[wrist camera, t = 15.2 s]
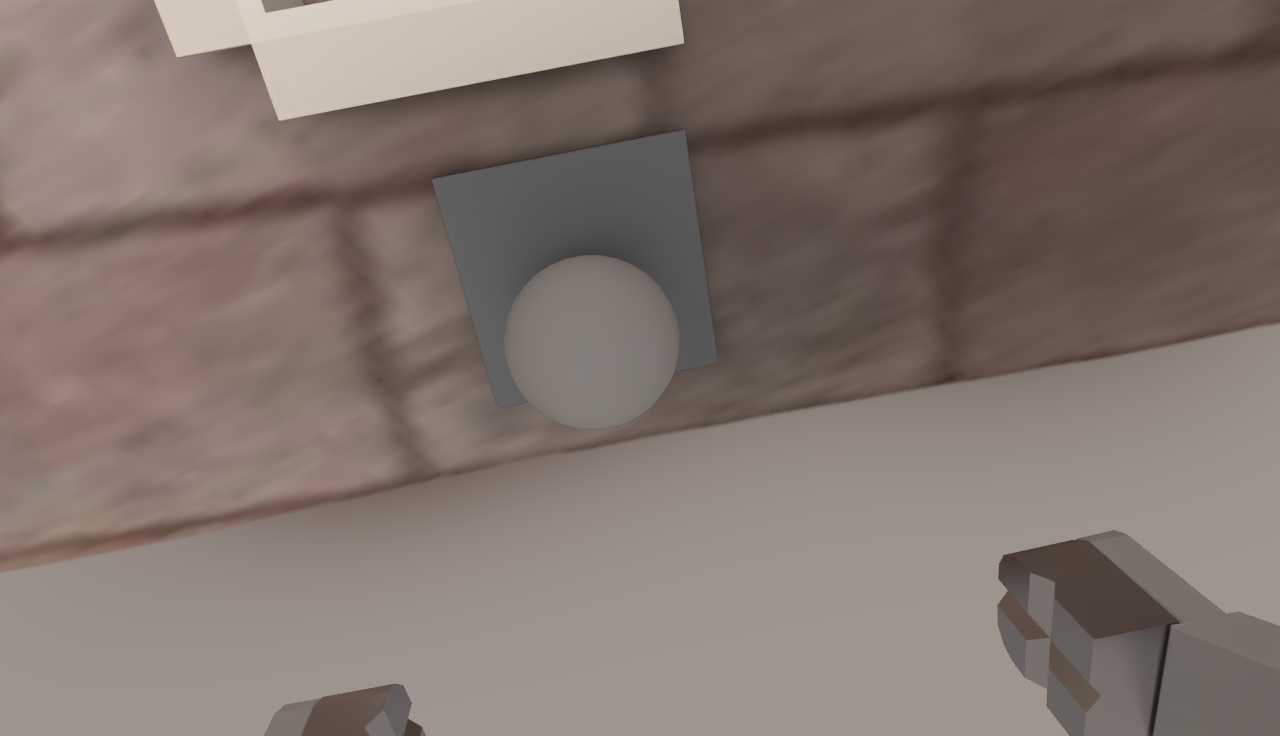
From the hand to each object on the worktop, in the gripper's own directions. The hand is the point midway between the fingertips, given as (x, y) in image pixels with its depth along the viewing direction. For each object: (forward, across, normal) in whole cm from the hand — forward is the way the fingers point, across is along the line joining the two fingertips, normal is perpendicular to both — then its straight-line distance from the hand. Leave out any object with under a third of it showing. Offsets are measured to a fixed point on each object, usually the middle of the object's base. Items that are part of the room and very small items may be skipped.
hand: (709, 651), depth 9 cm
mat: (+24, +1, +1) cm, 24 cm away
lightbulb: (+24, +2, +1) cm, 24 cm away
